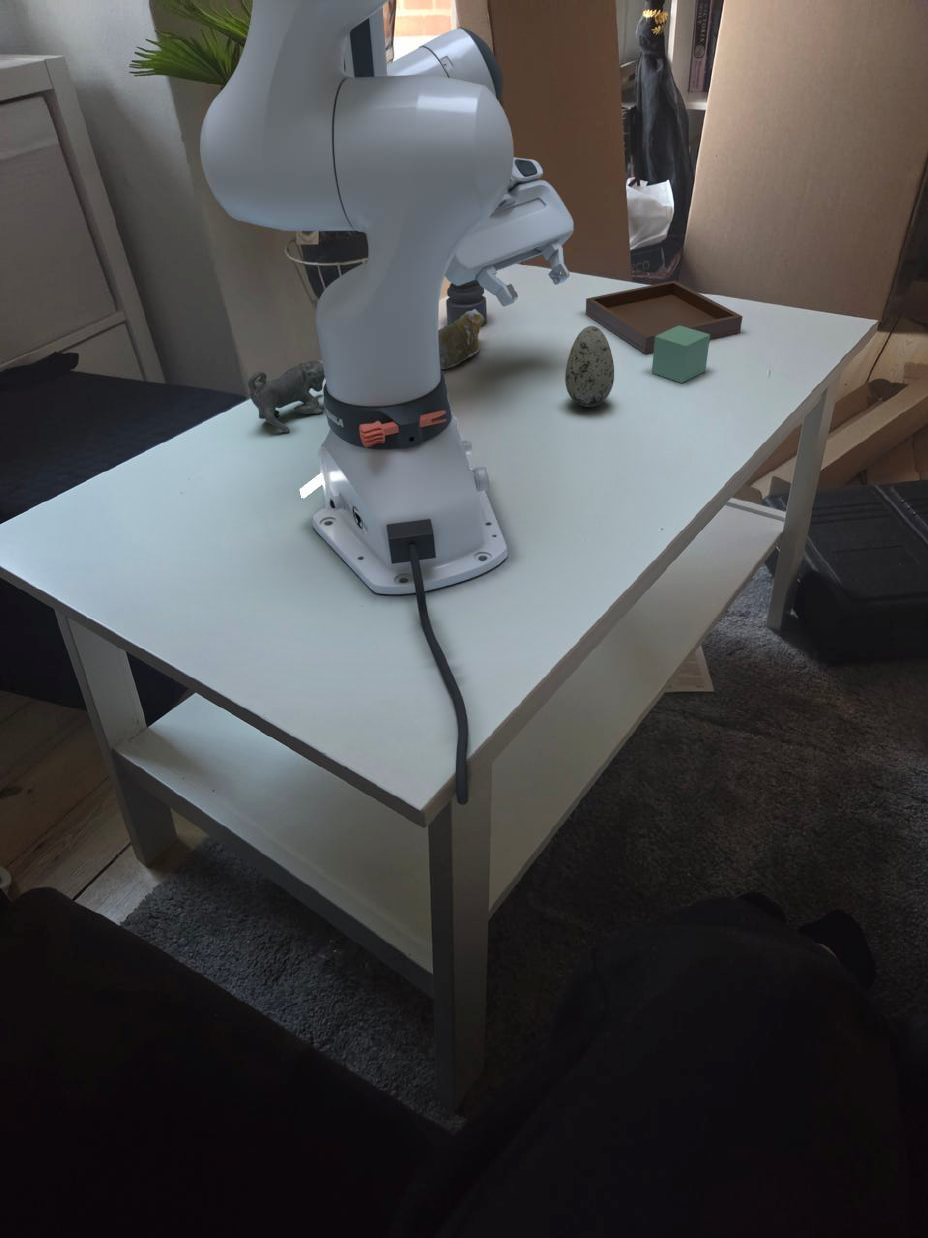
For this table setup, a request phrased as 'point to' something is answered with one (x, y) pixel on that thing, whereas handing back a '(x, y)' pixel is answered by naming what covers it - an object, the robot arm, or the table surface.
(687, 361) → the green block
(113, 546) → the table surface
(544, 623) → the table surface
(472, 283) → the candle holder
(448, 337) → the stone
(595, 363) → the decorative egg
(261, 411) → the dog figurine
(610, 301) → the tray
